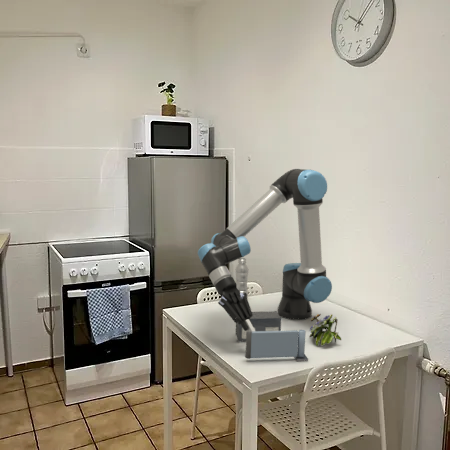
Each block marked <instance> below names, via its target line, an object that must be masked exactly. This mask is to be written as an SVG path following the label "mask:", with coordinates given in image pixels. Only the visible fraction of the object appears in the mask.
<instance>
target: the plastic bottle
mask: <svg viewBox="0 0 450 450" xmlns="http://www.w3.org/2000/svg"><path fill="white" fill-rule="evenodd" d="M237 260H238V262H237V263H238V264H237V265H236V267H235V271H234V272H235V282H236V285H237V289H238V290H239V291H240V293H243V294H244V293H246V294H247V298H248V296H249V292H248V291H249V290H248V275H249V266H248V265H247V264H246V263H247V258H244V257H241V258H239V259H237Z"/></svg>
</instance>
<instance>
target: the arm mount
mask: <svg viewBox="0 0 450 450" xmlns="http://www.w3.org/2000/svg"><path fill="white" fill-rule="evenodd" d="M293 358H294V360H295V361H296V362H309V358H308V356H306V354H305V353H304V357H298V356H297V357H293Z"/></svg>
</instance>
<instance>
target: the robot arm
mask: <svg viewBox="0 0 450 450" xmlns="http://www.w3.org/2000/svg"><path fill="white" fill-rule="evenodd" d="M327 191H328V182H327V179H326V178H325V176H324V175H323V174H322V173H321V172H319V171H317V170H313V169H302V168H293V169H290V170H288V171H286V172H285V173H284V174H282V175H281V176H279V177H278V178H277V179H276V180H275V181H274V182H273V183H272V184H270V185H269V190H267V191H266V192H265V193H264V194H263V195H262V196H261V197H260V198H259V199H257V201H255V202H254V203H252V205H251V206H250V207H248V208H247V209H246V210H245V211H244V212H243V213H242V214H241V215H240V216H238V217H237V219H235V220H234V221H233V222H232V223H231V224H229V226H228V227H226V228H225V229H224V230H223V231H222V232H218V233H217V232H216V233H215V234H214V235H213V236H212V237H211V241H210V243H205V244H203V245H202V246H201V247H200V248H199V249H198V250H197V256H198V258H199V260H200V263H201V264H202V266H203V267H204V270H205V271H206V274H207V275H208V277H209V280H211V283H212V285H213V286H214V289H215V290H216V293H218V295H219V296H220V299H219V301H217V304H218V305H219V306H220V307H222V308H223V310H225V312H226V313H227V315H228V316H229V317H230V319H231V320H232V321H233V322H234V324H236V323H237V322H238V324H239V325H240V324H241V325H242V327H243V329H244V330H245V331H246V332H247V331H251V332H252V331H255V329H254V325H253V324H252V322H251V320H250V318H251V317H252V316H253V314H252V312H253V311H252V309H251V306H250V303H249V300H248V297H247V294H246V293H244V294H243V293H240V291H239V290H238V289H237V285H236V280H235V279H234V277H233V276H232V273H231V272H230V270H229V269H228V267H227V264H230V263H232V262H235V261H237V260H239V258H244V257H245V256H247V255H249V254H250V253H251V251H252V250H251V249H252V248H251V245H250V242H249V240H248V239H247V238H246V236H247V235H248V234H250V232H251V231H253V229H254V228H256V227H257V226H258V225H259V224H260V223H262V221H263V220H265V218H267V217H268V216H269V215H270V214H271V213H272V212H274V210H276V209H277V208H278V207H279V206H280V205H281V204H286V203H287V202H288V201H290V200H291V199H292V201H293V206H294V207H295V208H297V221H298V223H297V224H298V237H299V238H298V242H299V256H300V258H299V259H300V262H295V263H294V262H292V263H291V262H290V263H285V264H284V265H283V269H282V289H281V290H282V291H281V295H282V296H281V299H280V301H279V303H278V306H277V311H276V312H277V313H278V314H279V316H280V317H281V318H283V319H287V320H295V321H296V320H297V321H298V320H299V321H300V320H308V319H310V318H311V317H312V314H313V309H312V306H311V303H314V304H320V303H322V302H324V301H326V300H327V299H328V297H329V296H330V295H331V293H332V289H333V284H332V281H331V279H330V278H329V277H327V268H326V266H324V265H323V263H322V262H323V260H322V259H323V258H322V241H321V240H322V239H321V221H320V218H321V217H320V207H321V205H323V202H324V201H323V198H324V197H325V195H326V194H327ZM310 302H311V303H310Z"/></svg>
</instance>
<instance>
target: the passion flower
mask: <svg viewBox="0 0 450 450" xmlns="http://www.w3.org/2000/svg"><path fill="white" fill-rule="evenodd" d="M321 315H322V314H321V313H318V314H317V315H313V317H312V318H311V319H310V322H314V321H315V320H316V322H315V323H314V324H313V325H312V326H310V328H309V332H310V335H308V337H309V338H313V339H315V345H316V346H317V347H319V345H321V347H322V346H324V345H328V344H330V343H332V341H333V340H334V342H335V344H337V340H338V341H339V340H340V341H342V337H341V336H340V334H339V332H336V330H337V327H338V326H337V325H338V318H337V317H336V316H335V317H334V318H333V314H332V313H331V314H330V315H329V314H328V315H326V316H324V317H323V318H321V319H318V318H319V317H321ZM331 319H332V320H331ZM333 324H335V327H334V331H332V327H333Z"/></svg>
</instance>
